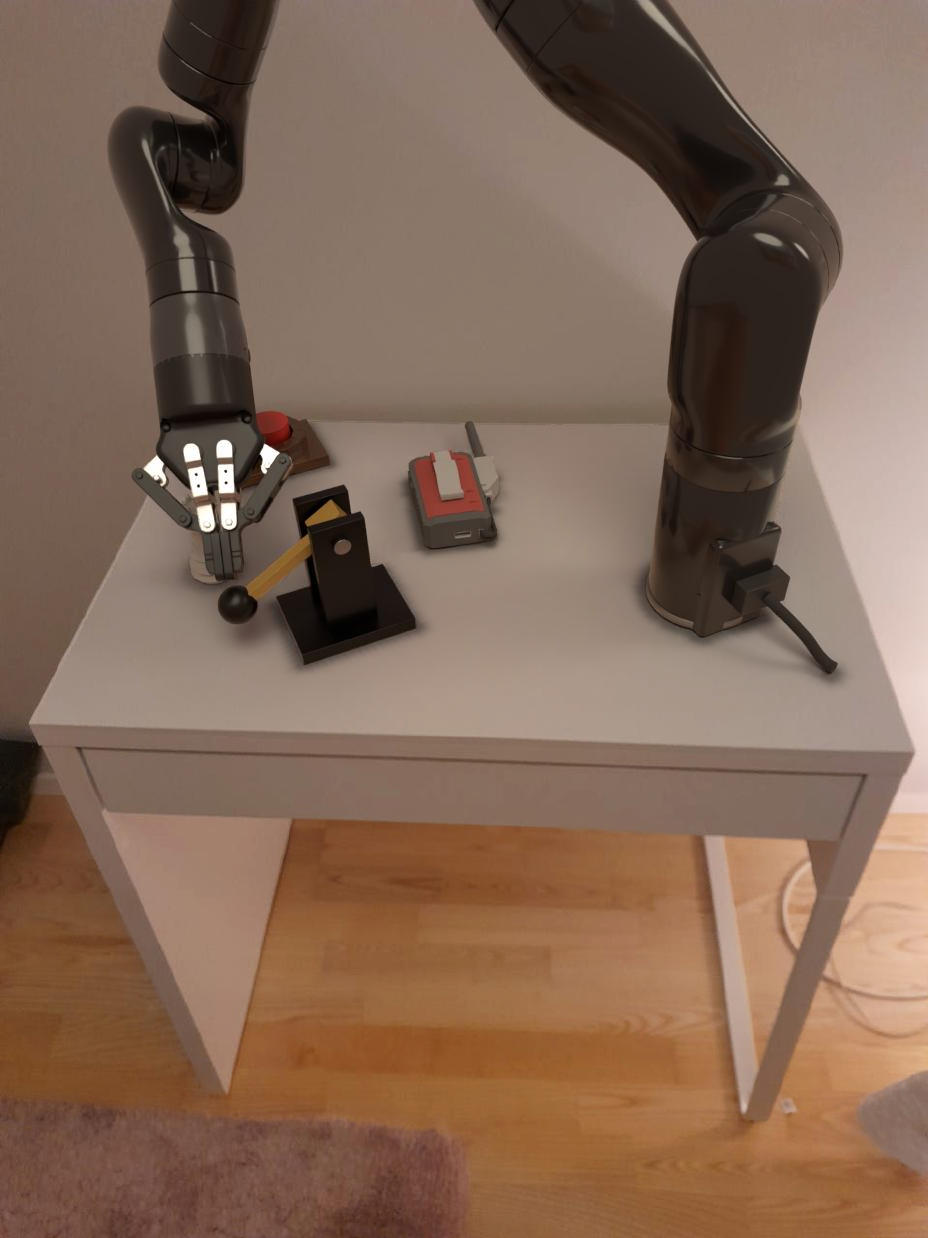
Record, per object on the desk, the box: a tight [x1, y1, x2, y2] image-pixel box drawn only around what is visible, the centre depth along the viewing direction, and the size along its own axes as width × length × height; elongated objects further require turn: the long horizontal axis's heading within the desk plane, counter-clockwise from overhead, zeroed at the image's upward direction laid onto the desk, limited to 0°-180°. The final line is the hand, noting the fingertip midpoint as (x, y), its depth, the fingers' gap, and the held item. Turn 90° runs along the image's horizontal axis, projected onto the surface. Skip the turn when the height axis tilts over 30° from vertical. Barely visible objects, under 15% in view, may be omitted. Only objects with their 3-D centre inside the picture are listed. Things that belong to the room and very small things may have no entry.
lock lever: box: [216, 500, 347, 626], centre depth 75 cm, size 13×3×3 cm, turn 115°
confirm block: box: [241, 415, 331, 489], centre depth 99 cm, size 10×8×3 cm
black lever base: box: [275, 484, 417, 666], centre depth 78 cm, size 10×8×12 cm
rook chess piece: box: [181, 494, 225, 585], centre depth 84 cm, size 4×4×8 cm
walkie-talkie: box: [407, 420, 500, 549], centre depth 93 cm, size 9×4×20 cm
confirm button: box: [256, 410, 291, 447], centre depth 98 cm, size 4×4×2 cm
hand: (227, 579), depth 75 cm, fingers closed
